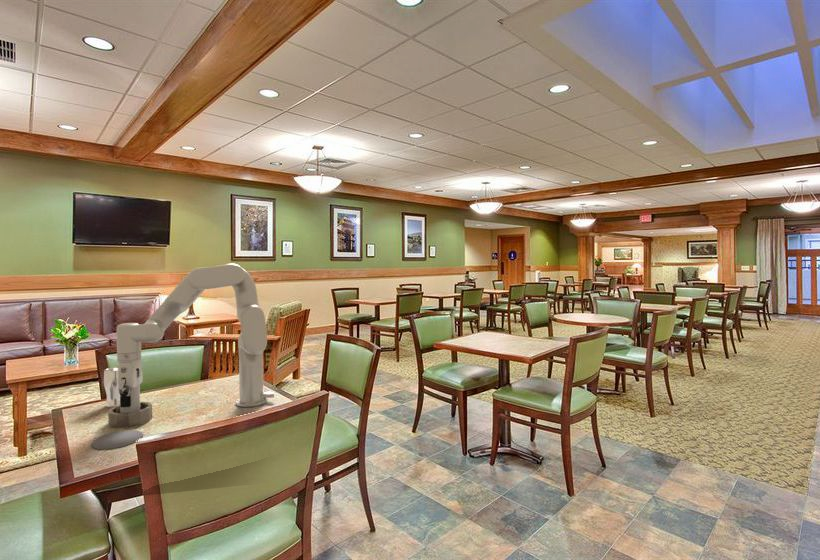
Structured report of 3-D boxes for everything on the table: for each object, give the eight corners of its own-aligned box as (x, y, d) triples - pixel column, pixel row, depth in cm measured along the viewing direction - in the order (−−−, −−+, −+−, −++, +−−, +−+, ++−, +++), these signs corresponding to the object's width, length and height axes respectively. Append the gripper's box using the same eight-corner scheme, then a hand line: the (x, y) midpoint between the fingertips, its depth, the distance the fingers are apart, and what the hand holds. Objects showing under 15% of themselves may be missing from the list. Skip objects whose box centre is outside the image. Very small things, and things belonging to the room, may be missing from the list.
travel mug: (131, 424, 155) (130, 370, 154) (116, 423, 156) (114, 369, 155) (145, 418, 161) (144, 366, 160) (130, 417, 163) (129, 365, 162)
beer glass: (103, 408, 172) (102, 372, 171) (106, 403, 178) (105, 368, 177) (123, 406, 175) (122, 370, 174) (125, 401, 181) (125, 366, 180)
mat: (149, 430, 150) (149, 428, 150) (132, 447, 137) (132, 445, 137) (104, 433, 147) (104, 431, 147) (82, 451, 134) (82, 449, 134)
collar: (157, 413, 167) (156, 400, 167) (143, 426, 154) (143, 412, 154) (118, 415, 164) (118, 403, 164) (101, 429, 151) (101, 415, 151)
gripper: (130, 361, 150) (131, 410, 151) (149, 351, 167) (150, 395, 168) (106, 362, 148) (108, 412, 149) (128, 351, 165) (129, 396, 166)
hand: (130, 402), depth 158 cm, fingers open, 7 cm apart
